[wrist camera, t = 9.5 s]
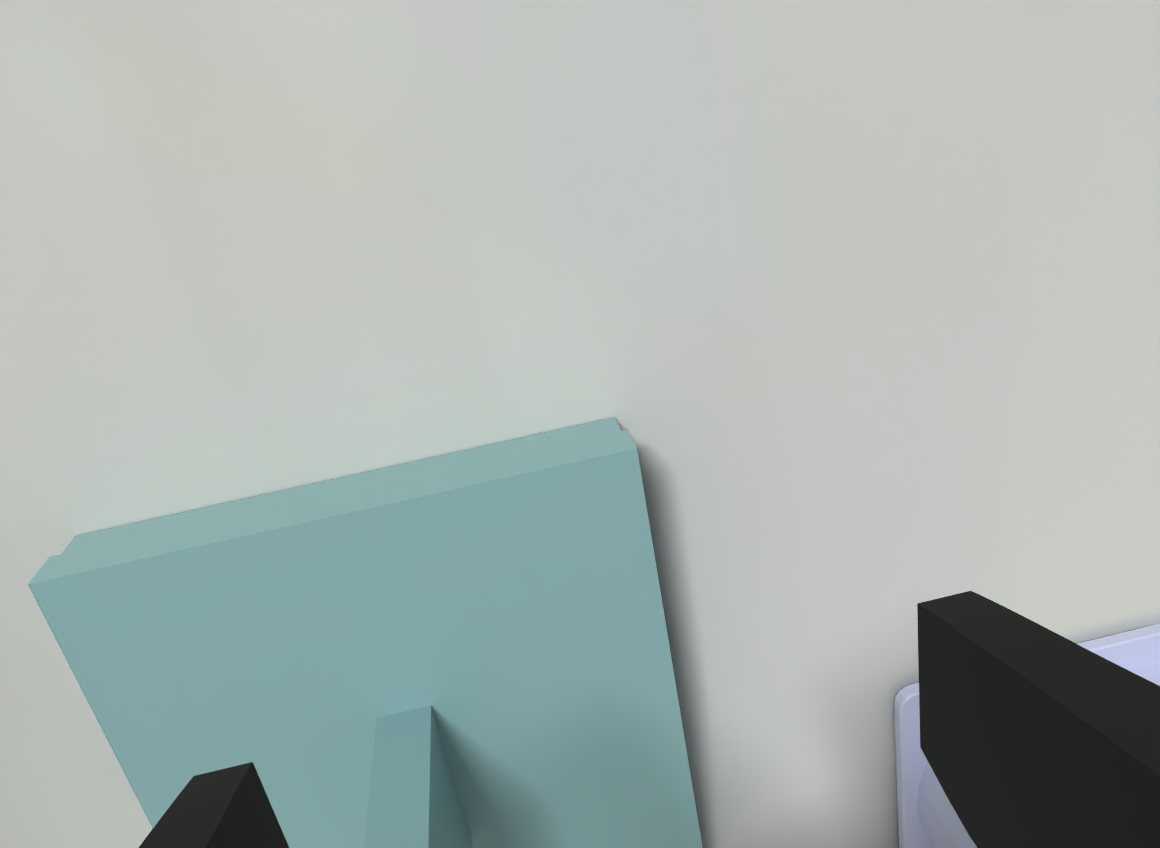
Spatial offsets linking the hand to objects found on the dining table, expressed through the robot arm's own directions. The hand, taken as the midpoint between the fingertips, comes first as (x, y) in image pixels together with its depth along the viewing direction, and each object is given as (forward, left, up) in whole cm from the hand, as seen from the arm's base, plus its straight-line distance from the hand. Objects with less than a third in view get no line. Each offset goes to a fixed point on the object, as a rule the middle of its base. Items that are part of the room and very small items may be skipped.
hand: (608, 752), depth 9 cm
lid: (+4, +8, -10) cm, 13 cm away
